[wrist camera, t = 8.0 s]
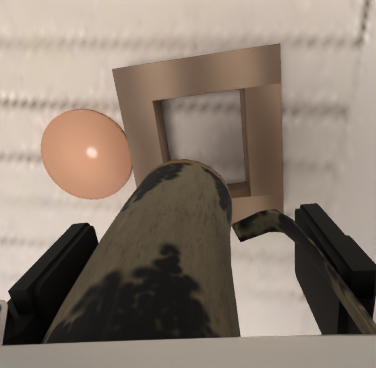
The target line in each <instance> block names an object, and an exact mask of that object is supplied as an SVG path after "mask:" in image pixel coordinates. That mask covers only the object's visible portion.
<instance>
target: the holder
mask: <svg viewBox="0 0 376 368" xmlns="http://www.w3.org/2000/svg"><path fill="white" fill-rule="evenodd" d="M112 72H113V77H114V81H115V86H116V91H117V96H118V100H119V105H120V110H121V115H122V120H123V124H124V129H125V134H126V139H127V143H128V148H129V153H130V158H131V162H132V167H133V172H134V177H135V182H136V186H137V188H138V186H139V185H140V184H141V182H142V180H143V179H144V178H145V177H146V175H147V174H148V173H149V172H150V171H151V170H152V169H154V168H155V167H157V166H158V165H160V164H162V163H165V162H168V161H170V158H169V152H168V146H167V139H166V133H165V127H164V121H163V115H162V108H161V102H160V100H162V99H169V98H176V97H183V96H191V95H198V94H205V93H212V92H220V91H227V90H234V89H240V100H241V115H242V130H243V145H244V160H245V175H246V183H236V184H227V186H228V188H229V191H230V194H231V197H232V221H231V226H232V224H233V223H235V222H238V221H240V220H242V219H244V218H246V217H248V216H250V215H253V214H255V213H257V212H259V211H264V210H271V209H276V210H278V211H279V212H281V213H283V214H284V212H283V161H282V110H281V59H280V43H279V44H273V45H266V46H260V47H253V48H247V49H240V50H234V51H227V52H221V53H214V54H208V55H201V56H195V57H188V58H181V59H175V60H168V61H162V62H155V63H149V64H142V65H136V66H129V67H123V68H116V69H112Z"/></svg>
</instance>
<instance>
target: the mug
mask: <svg viewBox="0 0 376 368" xmlns="http://www.w3.org/2000/svg"><path fill="white" fill-rule="evenodd" d="M231 221H232V197H231V194H230V191H229V188H228V186H227V184H226V183H225V181H224V180H223V178H222V177H221V176H220V175H219V174H218V173H217V172H216V171H214V170H213V169H212V168H211V167H209V166H207V165H205V164H203V163H200V162H198V161H192V160H187V159H181V160H171V161H168V162H165V163H162V164H160V165H158V166H157V167H155V168H154V169H152V170H151V171H150V172H149V173H148V174H147V175H146V177H145V178H144V179H143V180H142V182H141V184H140V185H139V186H138V188H137V189H136V190H135V192H134V193H133V194H132V195H131V197H130V198H129V199H128V201H127V202H126V203H125V205H124V206H123V208H122V209H121V211H120V212H119V214H118V215H117V217H116V218H115V220H114V221H113V223H112V224H111V226H110V227H109V228H108V230H107V231H106V233H105V234H104V236H103V237H102V239H101V241H100V242H99V244H98V246H97V247H96V249H95V250H94V252H93V254H92V255H91V257H90V259H89V260H88V262H87V264H86V265H85V267H84V269H83V270H82V272H81V274H80V275H79V277H78V279H77V280H76V282H75V284H74V285H73V287H72V289H71V290H70V292H69V293H68V295H67V297H66V298H65V300H64V302H63V304H62V306H61V307H60V309H59V311H58V313H57V315H56V317H55V318H54V320H53V322H52V324H51V326H50V328H49V330H48V331H47V333H46V335H45V337H44V339H43V341H42V342H41V344H53V343H80V342H110V341H138V340H167V339H197V338H226V337H241V336H240V329H239V322H238V314H237V306H236V299H235V291H234V284H233V276H232V269H231V248H230V230H231ZM232 227H233V229H234V231H235V233H236V235H237V237H238V239H239V240H240V242H242V241H245V240H248V239H251V238H254V237H256V236H259V235H262V234H265V233H267V232H282V233H285V234H286V235H287V236H288V237H290V238H291V239H292V240H293V241H294V242H295V243H296V244H298V245H299V246H300V247H301V248H302V249H303V250H304V252H305V253H306V254H307V255H308V257H309V258H310V259H311V261H312V262H313V263H314V265H315V266H316V267H317V269H318V270H319V271H320V273H321V274H322V275H323V276H324V278H325V279H326V280H327V282H328V283H329V285H330V286H331V288H332V289H333V291H334V292H335V294H336V295H337V297H338V298H339V300H340V301H341V303H342V304H343V306H344V307H345V309H346V310H347V312H348V313H349V315H350V316H351V318H352V319H353V321H354V322H355V324H356V325H357V327H358V328H359V330H360V331H361V333H362V334H376V324H375V322H374V321H373V319H372V318H371V316H370V315H369V314H368V312H367V311H366V310H365V308H364V307H363V306H362V304H361V303H360V302H359V300H358V299H357V298H356V297H355V295H354V294H353V293H352V291H351V290H350V289H349V287H348V286H347V285H346V283H345V282H344V281H343V280H342V278H341V277H340V276H339V274H338V273H337V272H336V270H335V269H334V268H333V266H332V265H331V264H330V263H329V261H328V260H327V259H326V257H325V256H324V255H323V253H322V252H321V251H320V249H319V248H318V247H317V246H316V245H315V244H314V242H313V241H312V240H311V239H310V238H309V237H308V236H307V235H306V234H305V233H304V231H303V230H302V229H301V228H300V227H299V226H298V225H297V224H296V223H295V221H294V220H293V219H291V218H289V217H288V216H286V215H284V214H283V213H281V212H279V211H278V210H276V209H271V210H264V211H259V212H257V213H255V214H253V215H250V216H248V217H246V218H244V219H242V220H240V221H238V222H235V223H233V224H232Z"/></svg>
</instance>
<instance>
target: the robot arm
mask: <svg viewBox="0 0 376 368" xmlns="http://www.w3.org/2000/svg"><path fill="white" fill-rule="evenodd" d="M295 223H296V224H297V225H298V226H299V227H300V228H301V229H302V230H303V231H304V233H305V234H306V235H307V236H308V237H309V238H310V239H311V240H312V241H313V242H314V244H315V245H316V246H317V247H318V248H319V249H320V251H321V252H322V253H323V255H324V256H325V257H326V259H327V260H328V261H329V263H330V264H331V265H332V266H333V268H334V269H335V270H336V272H337V273H338V274H339V276H340V277H341V278H342V280H343V281H344V282H345V283H346V285H347V286H348V287H349V289H350V290H351V291H352V293H353V294H354V295H355V297H356V298H357V299H358V300H359V302H360V303H361V304H362V306H363V307H364V308H365V310H366V311H367V312H368V314H369V315H370V316H371V318H372V319H373V321H374V322H375V324H376V264H375V263H374V262H373V261H372V260H371V259H370V257H369V256H368V255H367V254H366V253H365V252H364V251H363V250H362V249H361V248H360V247H359V245H358V244H357V243H356V242H355V241H354V240H353V239H352V238H351V237H350V236H347V235H345V234H344V233H343V232H342V231H341V229H340V228H339V227H338V226H337V225H336V224H335V223H334V222H333V220H332V219H331V218H330V217H329V216H328V215H327V214H326V213H325V212H324V210H323V209H322V208H321V207H320V206H319V205H318V204H317V203H314V204H302V205H300V209H295ZM98 244H99V243H98V240H97V236H96V232H95V229H94V227H93V226H90V225H89V224H88V223H78V224H73V225H71V227H70V228H69V229H68V230H67V231H66V232H65V233H64V234H63V235H62V236H61V237H60V238H59V239H58V240H57V241H56V242H55V243H54V244H53V245H52V246H51V247H50V248H49V249H48V250H47V251H46V252H45V253H44V254H43V255H42V256H41V258H40V259H39V260H38V261H37V262H36V263H35V264H34V265H33V266H32V267H31V268H30V269H29V270H28V271H27V272H26V273H25V274H24V275H23V276H22V277H21V278H20V279H19V280H18V281H17V282H16V283H15V284H14V285H13V286H12V287H11V289H10V290H9V291H8V292H9V294H10V297H11V299H10V300H9V301H8V302H6V301H4V300H0V368H376V334H362V333H361V331H360V330H359V328H358V327H357V325H356V324H355V322H354V321H353V319H352V318H351V316H350V315H349V313H348V312H347V310H346V309H345V307H344V306H343V304H342V303H341V301H340V300H339V298H338V297H337V295H336V294H335V292H334V291H333V289H332V288H331V286H330V285H329V283H328V282H327V280H326V279H325V278H324V276H323V275H322V274H321V273H320V271H319V270H318V269H317V267H316V266H315V265H314V263H313V262H312V261H311V259H310V258H309V257H308V255H307V254H306V253H305V252H304V250H303V249H302V248H301V247H300V246H299V245H298V244H296V243H295V273H296V277H297V280H298V282H299V284H300V286H301V288H302V291H303V293H304V295H305V297H306V300H307V302H308V304H309V306H310V309H311V311H312V313H313V315H314V318H315V320H316V322H317V324H318V327H319V329H320V331H321V333H322V335H293V336H258V337H226V338H197V339H167V340H138V341H110V342H80V343H53V344H41V342H42V341H43V339H44V337H45V335H46V333H47V331H48V330H49V328H50V326H51V324H52V322H53V320H54V318H55V317H56V315H57V313H58V311H59V309H60V307H61V306H62V304H63V302H64V300H65V298H66V297H67V295H68V293H69V292H70V290H71V289H72V287H73V285H74V284H75V282H76V280H77V279H78V277H79V275H80V274H81V272H82V270H83V269H84V267H85V265H86V264H87V262H88V260H89V259H90V257H91V255H92V254H93V252H94V250H95V249H96V247H97V246H98Z"/></svg>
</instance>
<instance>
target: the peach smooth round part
mask: <svg viewBox="0 0 376 368" xmlns="http://www.w3.org/2000/svg"><path fill="white" fill-rule="evenodd" d="M41 156H42V160H43V164H44V166H45V169H46V170H47V172H48V174H49V175H50V177H51V178H52V180H53V181H54V182H55V183H56V184H57V185H58V186H59V187H60V188H62V189H63V190H64V191H66V192H68V193H69V194H71V195H74V196H76V197H79V198H83V199H91V200H92V199H102V198H105V197H108V196H110V195H112V194H114V193H115V192H117V191H118V190H119V189H120V188H121V187H122V186H123V185H124V184H125V182H126V181H127V179H128V177H129V175H130V172H131V169H132V162H131V158H130V153H129V148H128V143H127V139H126V135H125V134H124V132H123V131H122V130H121V128H120V127H119V126H118V125H117V124H116V123H115V122H114V121H112V120H111V119H110V118H108V117H107V116H105V115H103V114H101V113H98V112H95V111H91V110H83V109H81V110H73V111H68V112H65V113H62V114H61V115H59V116H57V117H56V118H54V119H53V120H52V121H51V122H50V123H49V125H48V126H47V128H46V129H45V131H44V133H43V136H42V140H41Z"/></svg>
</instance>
